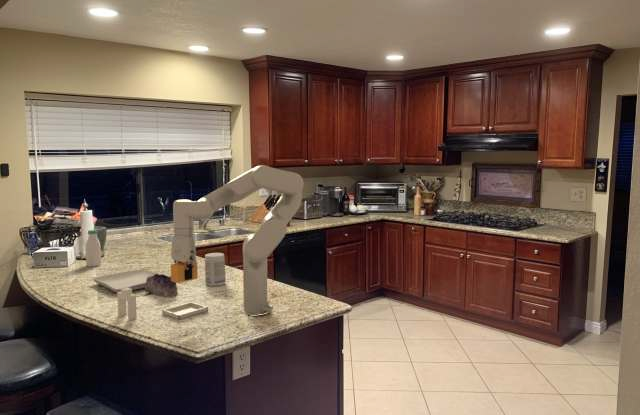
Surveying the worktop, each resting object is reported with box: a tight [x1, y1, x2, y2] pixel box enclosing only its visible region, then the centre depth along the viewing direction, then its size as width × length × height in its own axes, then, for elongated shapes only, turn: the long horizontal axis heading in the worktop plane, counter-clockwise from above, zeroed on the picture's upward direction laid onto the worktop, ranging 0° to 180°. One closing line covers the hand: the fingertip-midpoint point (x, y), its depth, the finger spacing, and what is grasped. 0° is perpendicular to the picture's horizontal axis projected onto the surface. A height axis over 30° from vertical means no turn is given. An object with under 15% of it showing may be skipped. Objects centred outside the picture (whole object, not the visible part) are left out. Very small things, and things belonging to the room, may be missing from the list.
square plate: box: [91, 268, 160, 293], centre depth 237 cm, size 27×27×4 cm
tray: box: [161, 301, 209, 321], centre depth 192 cm, size 11×14×2 cm
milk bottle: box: [85, 229, 102, 268], centre depth 275 cm, size 8×8×20 cm
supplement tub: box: [204, 252, 226, 287], centre depth 238 cm, size 10×10×15 cm
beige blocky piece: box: [116, 288, 138, 321], centre depth 186 cm, size 8×3×11 cm, turn 51°
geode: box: [144, 272, 179, 298], centre depth 220 cm, size 20×12×10 cm, turn 45°
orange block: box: [170, 262, 198, 284], centre depth 190 cm, size 4×9×6 cm, turn 141°
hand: (184, 277), depth 190 cm, fingers closed on orange block, 4 cm apart
